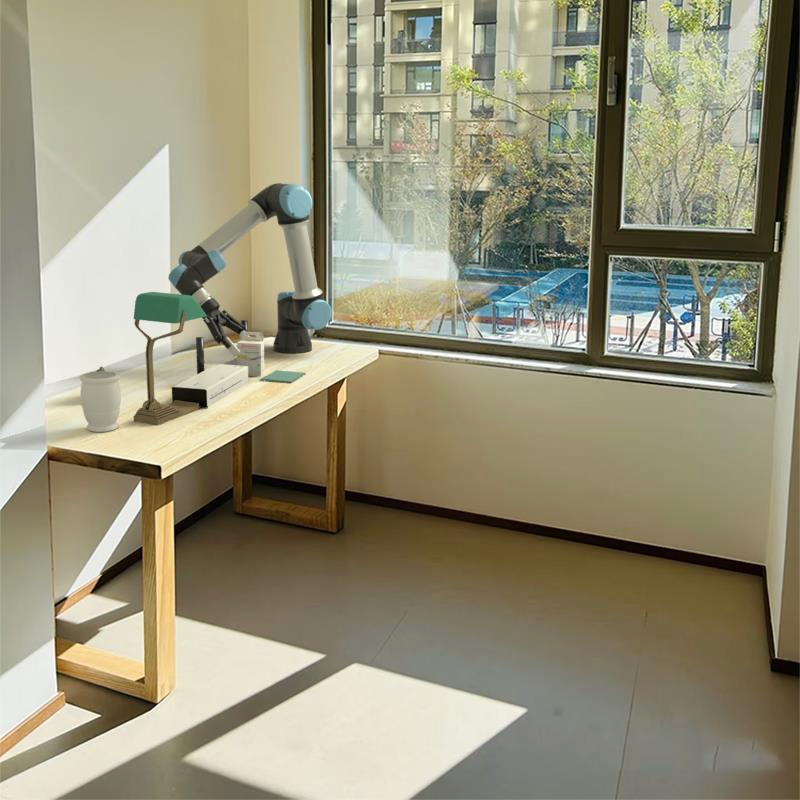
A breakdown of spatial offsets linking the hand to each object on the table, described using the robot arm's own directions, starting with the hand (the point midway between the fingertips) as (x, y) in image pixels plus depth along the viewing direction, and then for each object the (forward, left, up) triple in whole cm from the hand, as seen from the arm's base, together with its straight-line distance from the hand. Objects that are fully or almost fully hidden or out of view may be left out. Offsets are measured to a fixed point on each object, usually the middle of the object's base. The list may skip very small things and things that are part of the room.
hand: (245, 350), depth 318 cm
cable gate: (-1, -9, -9) cm, 12 cm away
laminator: (+28, 0, -9) cm, 30 cm away
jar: (+73, -11, -9) cm, 75 cm away
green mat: (-1, +13, -9) cm, 16 cm away
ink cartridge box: (-1, +1, -9) cm, 9 cm away
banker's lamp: (+55, -1, -9) cm, 55 cm away
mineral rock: (+43, -28, -9) cm, 52 cm away
